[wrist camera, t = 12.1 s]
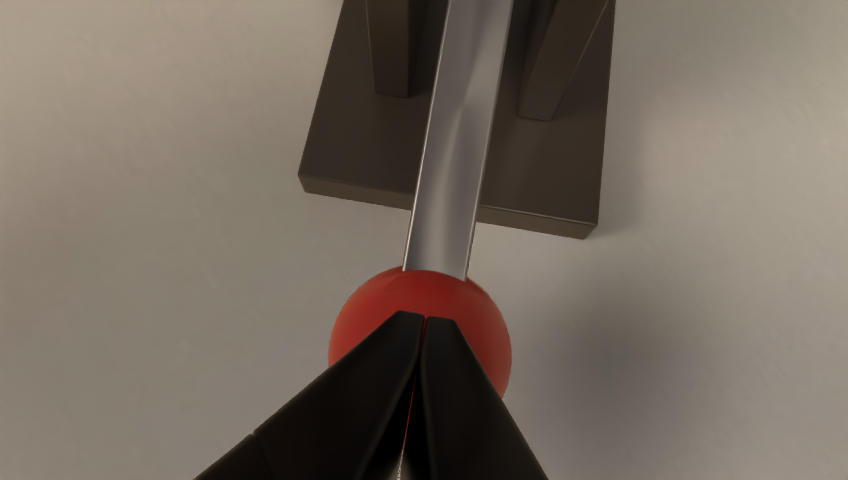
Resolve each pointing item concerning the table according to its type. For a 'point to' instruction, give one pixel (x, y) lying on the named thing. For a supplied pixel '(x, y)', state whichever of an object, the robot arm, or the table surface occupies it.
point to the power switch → (447, 200)
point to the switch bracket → (513, 121)
